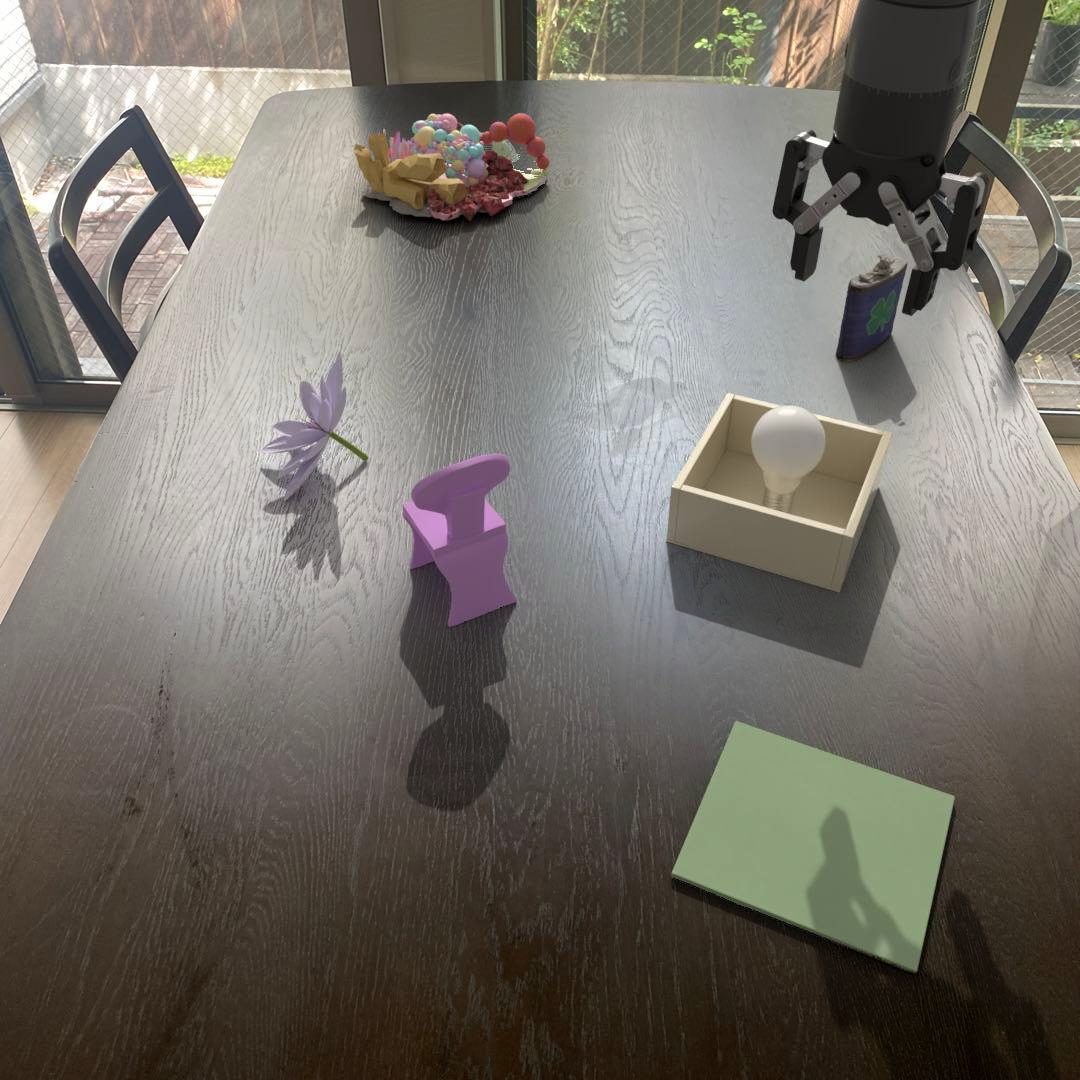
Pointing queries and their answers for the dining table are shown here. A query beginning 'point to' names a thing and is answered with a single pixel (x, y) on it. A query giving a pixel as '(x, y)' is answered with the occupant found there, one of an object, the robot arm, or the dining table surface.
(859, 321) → the flask
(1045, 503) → the dining table surface
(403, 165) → the candy landscape model
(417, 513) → the toy chair
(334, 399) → the water lily
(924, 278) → the robot arm
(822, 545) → the open wooden box
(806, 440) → the lightbulb
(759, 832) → the mat
